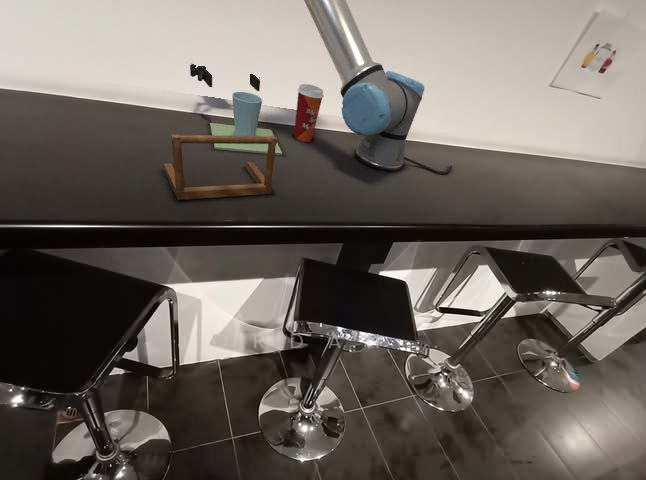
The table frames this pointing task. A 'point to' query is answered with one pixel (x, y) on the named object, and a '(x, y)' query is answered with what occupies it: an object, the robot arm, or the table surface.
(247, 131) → the cup
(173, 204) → the table surface
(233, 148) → the mat
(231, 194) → the rack
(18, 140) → the table surface
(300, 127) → the paper cup
